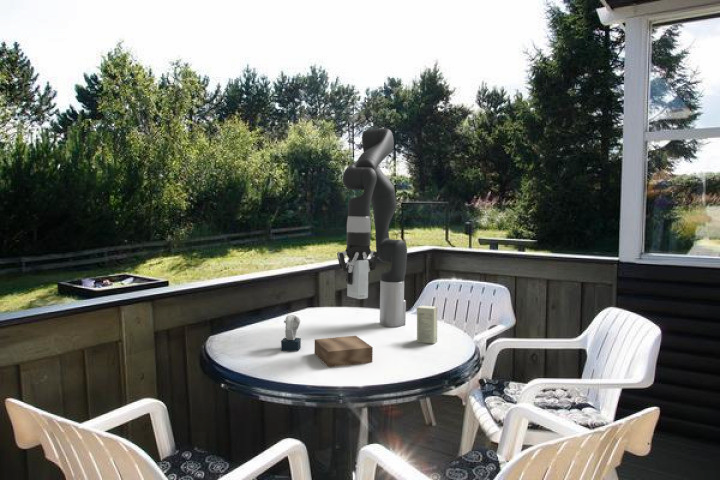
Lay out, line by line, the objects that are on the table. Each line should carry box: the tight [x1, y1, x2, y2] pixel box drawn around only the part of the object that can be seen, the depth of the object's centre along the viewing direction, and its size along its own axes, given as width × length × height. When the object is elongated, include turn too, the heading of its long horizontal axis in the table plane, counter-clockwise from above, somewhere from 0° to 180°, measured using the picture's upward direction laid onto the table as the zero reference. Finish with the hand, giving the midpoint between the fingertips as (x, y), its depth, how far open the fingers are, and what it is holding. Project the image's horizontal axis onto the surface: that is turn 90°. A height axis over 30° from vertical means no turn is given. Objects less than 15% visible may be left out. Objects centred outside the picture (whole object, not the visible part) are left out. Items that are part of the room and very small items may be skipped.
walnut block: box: [314, 335, 374, 368], centre depth 165 cm, size 14×14×5 cm
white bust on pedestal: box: [280, 314, 302, 352], centre depth 173 cm, size 6×8×11 cm
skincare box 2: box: [416, 305, 438, 344], centre depth 184 cm, size 6×4×12 cm
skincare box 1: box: [346, 260, 369, 300], centre depth 170 cm, size 6×4×12 cm
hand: (357, 283), depth 171 cm, fingers closed on skincare box 1, 5 cm apart
